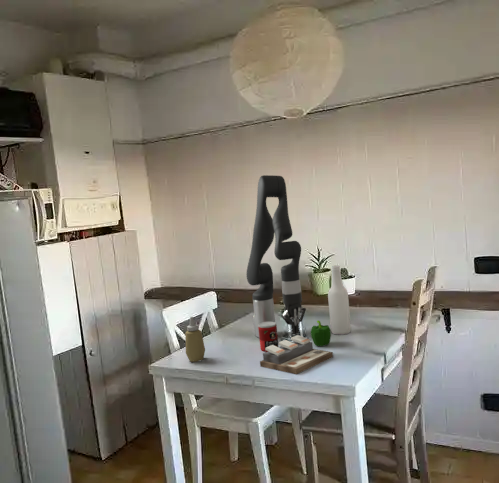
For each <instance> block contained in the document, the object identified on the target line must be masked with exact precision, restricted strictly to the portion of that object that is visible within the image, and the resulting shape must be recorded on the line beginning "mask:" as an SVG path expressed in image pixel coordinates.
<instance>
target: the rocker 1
mask: <svg viewBox="0 0 499 483" xmlns="http://www.w3.org/2000/svg"><path fill="white" fill-rule="evenodd" d="M279 347H280V346H278V347H277V346H274V345H271V346H268V347H266V348H265V350H267V351H269V352H271V354H275V355H277V356H279V355H281V354H283V353H285V350H283V349H281V348H279Z"/></svg>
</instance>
